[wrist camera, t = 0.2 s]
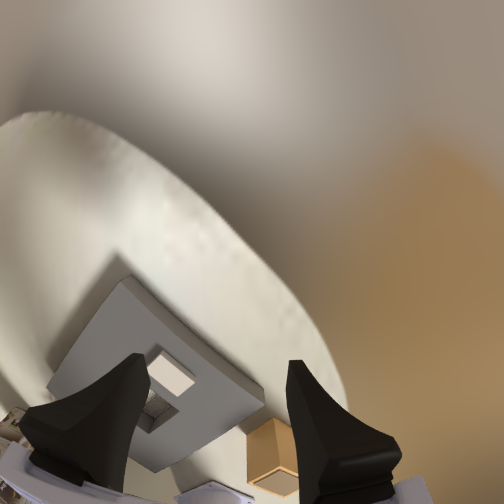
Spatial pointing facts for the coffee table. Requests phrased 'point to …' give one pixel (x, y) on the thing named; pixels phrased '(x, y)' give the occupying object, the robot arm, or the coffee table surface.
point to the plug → (272, 459)
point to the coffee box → (3, 436)
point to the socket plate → (160, 375)
